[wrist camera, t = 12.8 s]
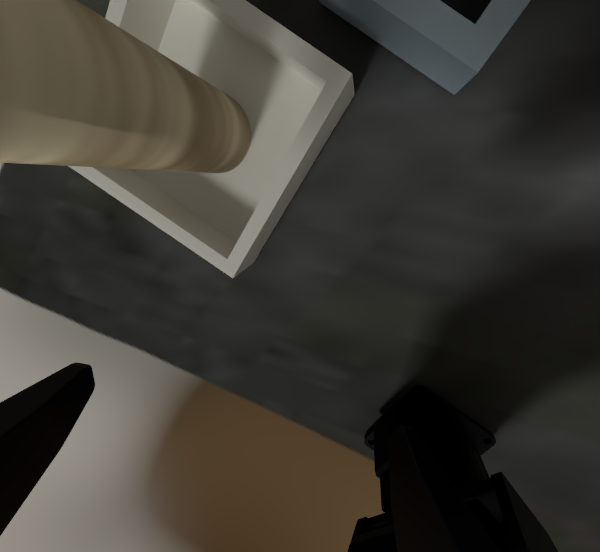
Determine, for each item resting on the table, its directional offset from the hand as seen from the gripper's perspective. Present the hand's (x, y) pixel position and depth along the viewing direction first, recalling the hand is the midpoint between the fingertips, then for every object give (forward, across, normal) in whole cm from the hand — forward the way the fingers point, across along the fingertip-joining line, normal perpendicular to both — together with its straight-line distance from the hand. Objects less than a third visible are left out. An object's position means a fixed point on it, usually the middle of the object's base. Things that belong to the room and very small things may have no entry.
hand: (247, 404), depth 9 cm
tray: (+14, +5, -5) cm, 16 cm away
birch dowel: (+14, +6, -5) cm, 16 cm away
